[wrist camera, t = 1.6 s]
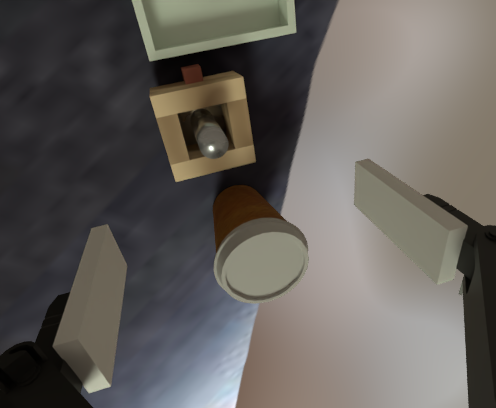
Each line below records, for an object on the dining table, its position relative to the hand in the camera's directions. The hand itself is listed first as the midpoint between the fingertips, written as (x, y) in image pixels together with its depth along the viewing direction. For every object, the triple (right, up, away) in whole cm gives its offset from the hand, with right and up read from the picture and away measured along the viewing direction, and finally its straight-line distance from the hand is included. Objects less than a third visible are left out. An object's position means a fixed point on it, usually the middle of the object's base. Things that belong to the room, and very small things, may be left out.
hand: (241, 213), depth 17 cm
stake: (-5, +10, +17) cm, 20 cm away
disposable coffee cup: (-1, 0, +23) cm, 23 cm away
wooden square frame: (-4, +9, +15) cm, 18 cm away
